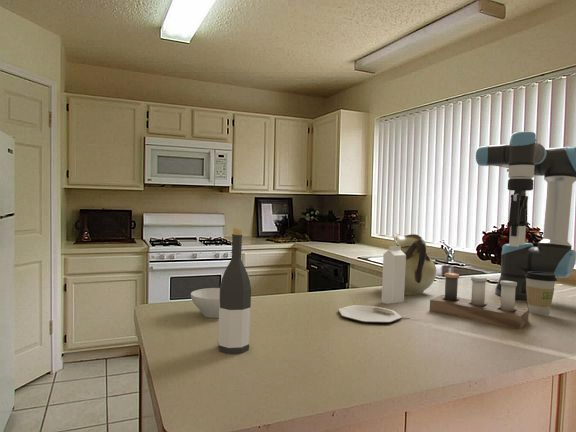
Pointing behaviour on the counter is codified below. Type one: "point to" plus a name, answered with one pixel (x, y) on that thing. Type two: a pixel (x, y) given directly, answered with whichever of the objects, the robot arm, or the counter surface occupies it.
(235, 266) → the wine bottle
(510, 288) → the knob left
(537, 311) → the coffee cup
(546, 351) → the counter surface
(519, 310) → the mount
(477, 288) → the knob mid
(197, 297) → the bowl
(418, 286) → the pitcher
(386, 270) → the milk
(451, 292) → the pot knob
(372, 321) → the plate
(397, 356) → the counter surface
